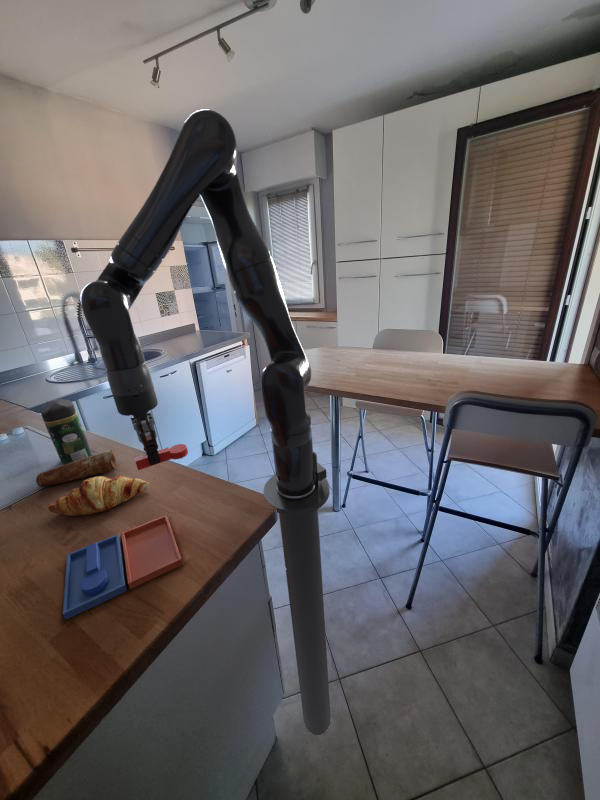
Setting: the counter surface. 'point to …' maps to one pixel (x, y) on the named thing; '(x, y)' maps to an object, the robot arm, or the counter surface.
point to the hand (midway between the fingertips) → (154, 460)
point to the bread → (78, 469)
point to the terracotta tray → (149, 551)
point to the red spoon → (163, 455)
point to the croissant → (98, 495)
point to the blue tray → (77, 571)
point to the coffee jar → (65, 430)
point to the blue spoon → (93, 572)
